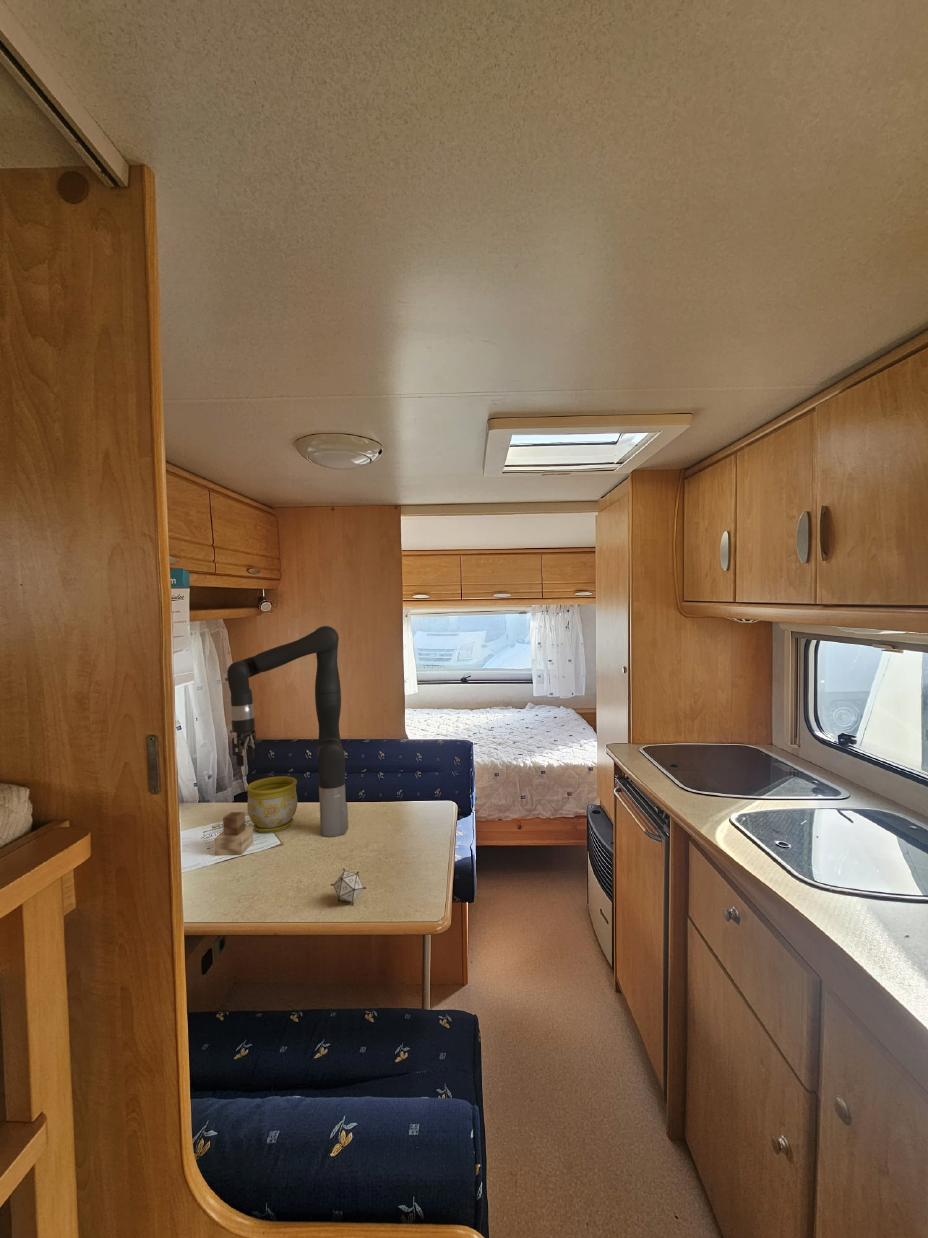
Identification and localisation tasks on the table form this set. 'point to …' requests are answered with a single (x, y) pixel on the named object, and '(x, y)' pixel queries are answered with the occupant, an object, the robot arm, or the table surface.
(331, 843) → the table surface
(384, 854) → the table surface
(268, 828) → the flowerpot
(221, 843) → the oak box
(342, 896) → the game die
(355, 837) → the table surface
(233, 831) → the walnut block
